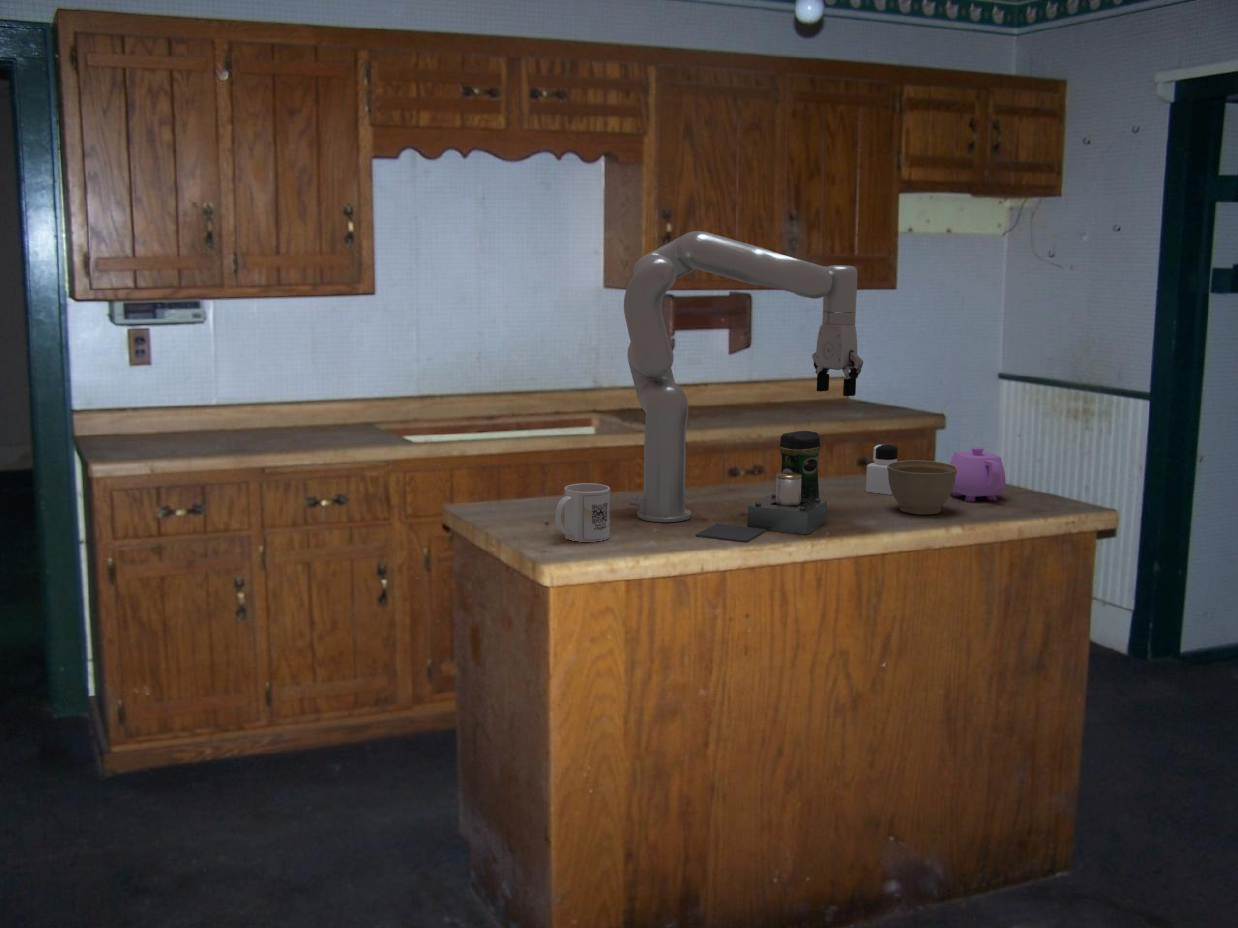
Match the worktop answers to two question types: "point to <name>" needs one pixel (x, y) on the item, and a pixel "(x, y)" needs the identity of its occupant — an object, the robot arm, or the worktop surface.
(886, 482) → the medicine bottle
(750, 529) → the rubber mat
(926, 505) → the planter bowl
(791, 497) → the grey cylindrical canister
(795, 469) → the coffee jar
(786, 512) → the housing
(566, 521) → the mug
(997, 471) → the teapot
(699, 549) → the worktop surface
